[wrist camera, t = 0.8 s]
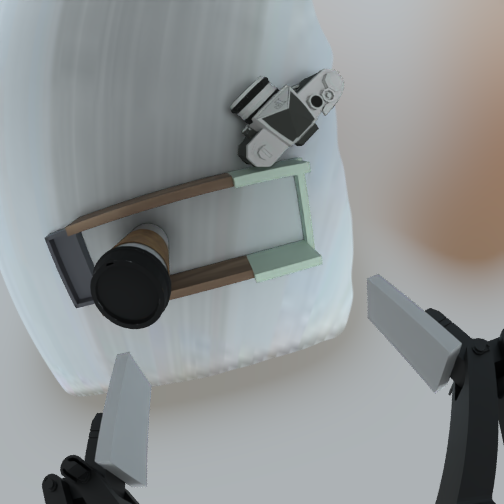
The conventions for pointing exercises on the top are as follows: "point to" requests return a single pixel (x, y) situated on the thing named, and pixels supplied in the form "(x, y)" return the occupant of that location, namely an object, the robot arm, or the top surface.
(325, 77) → the camera
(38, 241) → the top surface
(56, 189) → the top surface
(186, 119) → the top surface
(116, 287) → the coffee cup
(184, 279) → the channel
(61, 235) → the tray
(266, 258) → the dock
